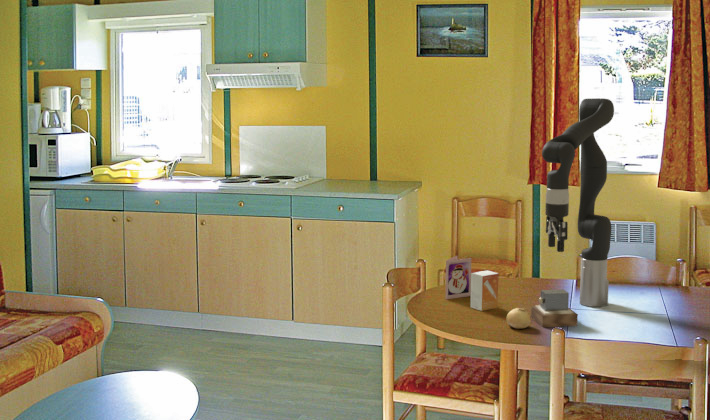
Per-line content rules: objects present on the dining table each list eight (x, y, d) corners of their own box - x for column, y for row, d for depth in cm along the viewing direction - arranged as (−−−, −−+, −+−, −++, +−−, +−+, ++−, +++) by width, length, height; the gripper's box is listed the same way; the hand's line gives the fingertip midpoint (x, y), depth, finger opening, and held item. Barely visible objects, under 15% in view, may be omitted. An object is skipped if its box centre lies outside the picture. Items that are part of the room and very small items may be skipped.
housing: (562, 306, 277) (563, 289, 276) (568, 310, 272) (568, 293, 271) (537, 307, 276) (537, 290, 275) (541, 311, 271) (542, 293, 270)
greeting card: (446, 299, 304) (447, 261, 301) (436, 295, 310) (436, 257, 308) (472, 296, 308) (472, 258, 306) (461, 292, 315) (462, 254, 313)
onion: (507, 330, 265) (508, 309, 264) (504, 323, 273) (505, 303, 272) (532, 330, 264) (532, 310, 263) (528, 323, 272) (529, 303, 271)
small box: (481, 311, 288) (482, 276, 286) (470, 307, 293) (470, 272, 291) (498, 307, 292) (499, 273, 290) (486, 304, 297) (487, 269, 295)
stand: (564, 315, 281) (564, 303, 280) (577, 325, 269) (577, 312, 269) (531, 317, 280) (531, 304, 279) (542, 327, 268) (542, 314, 267)
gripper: (576, 204, 262) (574, 253, 264) (560, 198, 276) (559, 244, 278) (553, 205, 261) (552, 253, 263) (539, 199, 275) (538, 245, 277)
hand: (555, 249), depth 271 cm, fingers open, 8 cm apart
